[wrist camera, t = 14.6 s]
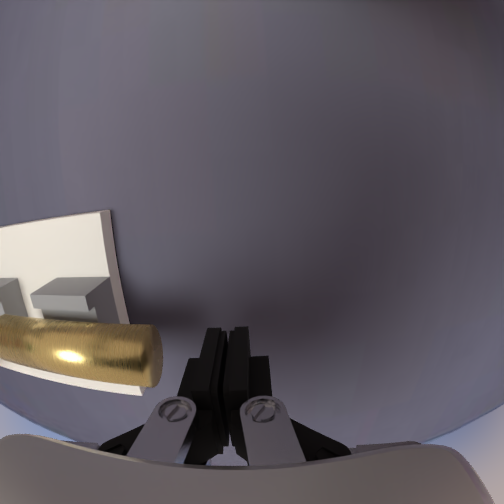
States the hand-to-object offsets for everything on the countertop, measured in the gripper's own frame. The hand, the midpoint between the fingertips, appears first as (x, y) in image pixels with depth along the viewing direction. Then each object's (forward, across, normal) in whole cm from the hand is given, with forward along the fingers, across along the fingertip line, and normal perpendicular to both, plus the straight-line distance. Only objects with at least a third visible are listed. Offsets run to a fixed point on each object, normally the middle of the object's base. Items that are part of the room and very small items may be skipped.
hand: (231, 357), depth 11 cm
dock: (+5, +20, 0) cm, 20 cm away
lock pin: (+1, +8, 0) cm, 9 cm away
